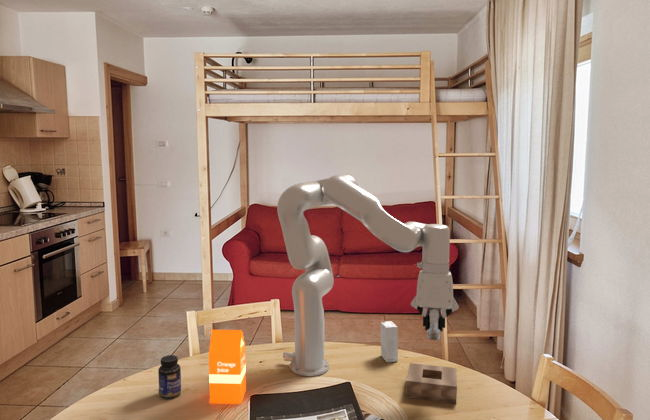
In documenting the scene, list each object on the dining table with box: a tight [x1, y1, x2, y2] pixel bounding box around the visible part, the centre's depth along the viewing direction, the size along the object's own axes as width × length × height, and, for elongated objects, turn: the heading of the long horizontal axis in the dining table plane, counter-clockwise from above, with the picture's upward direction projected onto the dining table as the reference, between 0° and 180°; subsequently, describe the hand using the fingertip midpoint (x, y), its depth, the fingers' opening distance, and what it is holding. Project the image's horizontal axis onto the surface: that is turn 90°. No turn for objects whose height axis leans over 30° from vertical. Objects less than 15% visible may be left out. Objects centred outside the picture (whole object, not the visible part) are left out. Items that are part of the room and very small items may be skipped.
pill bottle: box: [157, 354, 182, 400], centre depth 141 cm, size 6×6×11 cm
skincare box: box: [380, 320, 399, 363], centre depth 166 cm, size 6×4×12 cm
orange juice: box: [208, 329, 247, 405], centre depth 139 cm, size 8×9×20 cm
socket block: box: [405, 362, 458, 405], centre depth 145 cm, size 14×12×5 cm
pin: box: [426, 308, 442, 341], centre depth 142 cm, size 4×4×11 cm
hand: (433, 328), depth 143 cm, fingers closed on pin, 3 cm apart
